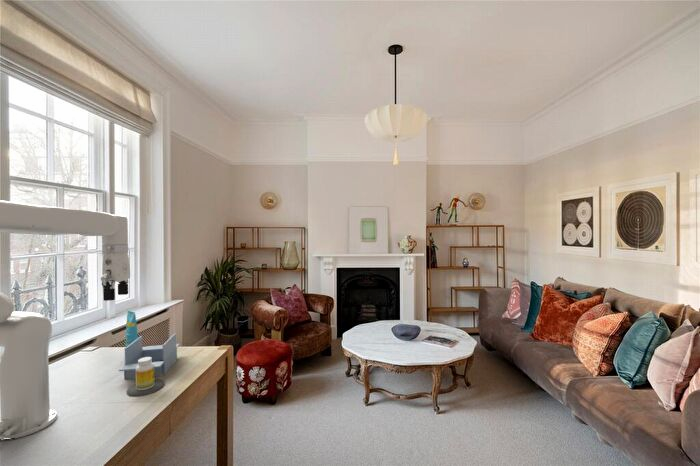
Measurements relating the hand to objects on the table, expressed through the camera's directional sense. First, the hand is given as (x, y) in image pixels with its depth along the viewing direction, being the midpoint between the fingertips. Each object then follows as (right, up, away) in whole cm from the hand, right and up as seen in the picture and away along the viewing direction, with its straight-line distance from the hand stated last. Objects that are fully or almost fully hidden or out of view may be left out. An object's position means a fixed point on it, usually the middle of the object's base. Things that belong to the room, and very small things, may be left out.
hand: (116, 297), depth 114 cm
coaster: (+14, -30, -5) cm, 33 cm away
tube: (-11, -30, +25) cm, 41 cm away
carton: (+6, -30, +11) cm, 33 cm away
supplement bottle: (+14, -30, -5) cm, 33 cm away
